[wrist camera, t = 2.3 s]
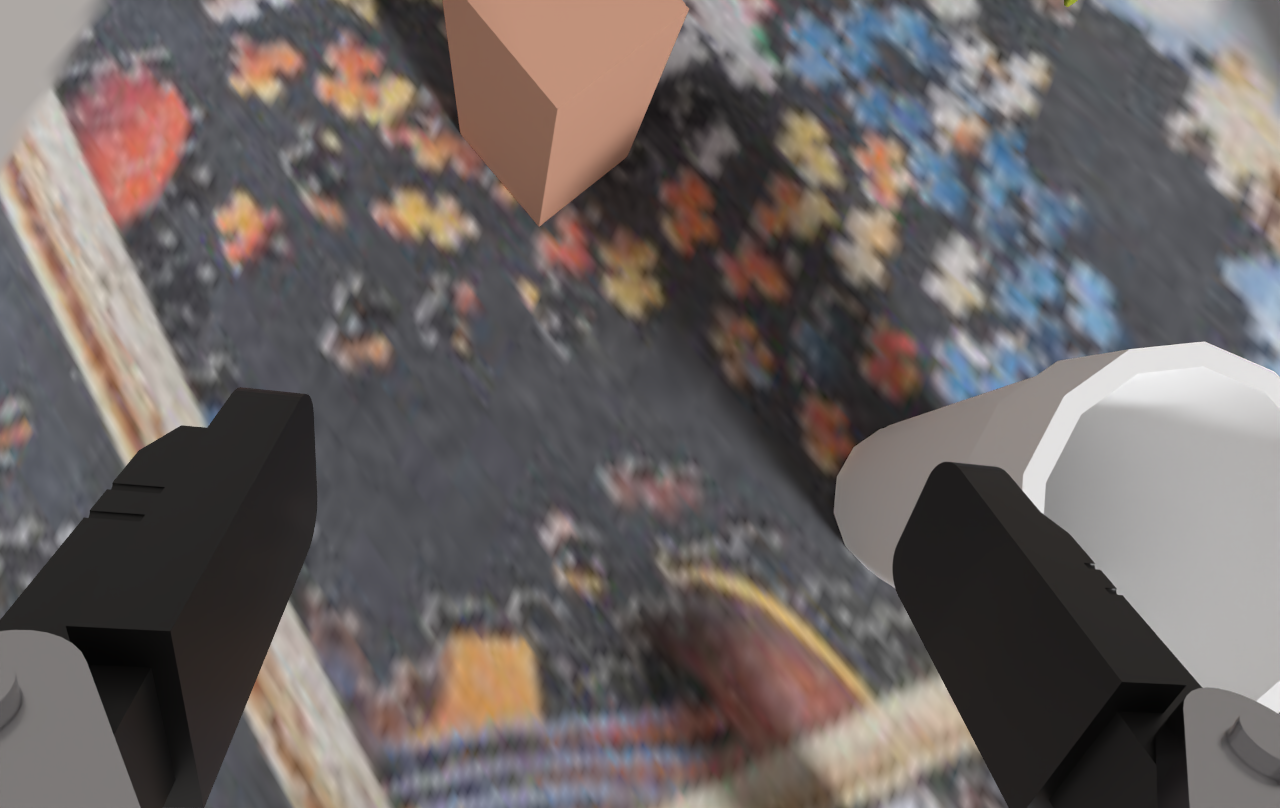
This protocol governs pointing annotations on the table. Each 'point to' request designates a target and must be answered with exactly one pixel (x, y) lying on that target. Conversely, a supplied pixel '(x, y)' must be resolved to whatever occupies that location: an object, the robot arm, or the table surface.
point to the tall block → (556, 87)
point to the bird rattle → (1069, 2)
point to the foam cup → (1121, 490)
